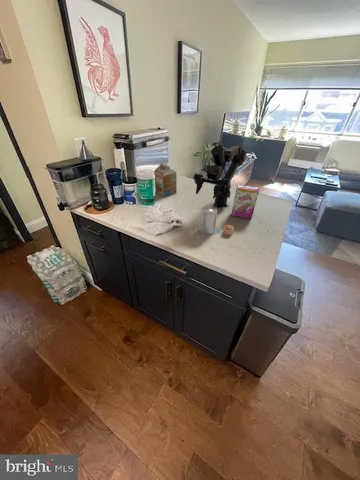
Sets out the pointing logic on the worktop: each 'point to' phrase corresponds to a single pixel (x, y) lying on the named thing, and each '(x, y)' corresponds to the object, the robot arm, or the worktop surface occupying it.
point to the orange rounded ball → (228, 230)
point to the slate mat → (210, 234)
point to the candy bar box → (244, 201)
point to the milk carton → (165, 180)
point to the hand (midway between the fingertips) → (204, 195)
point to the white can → (208, 220)
